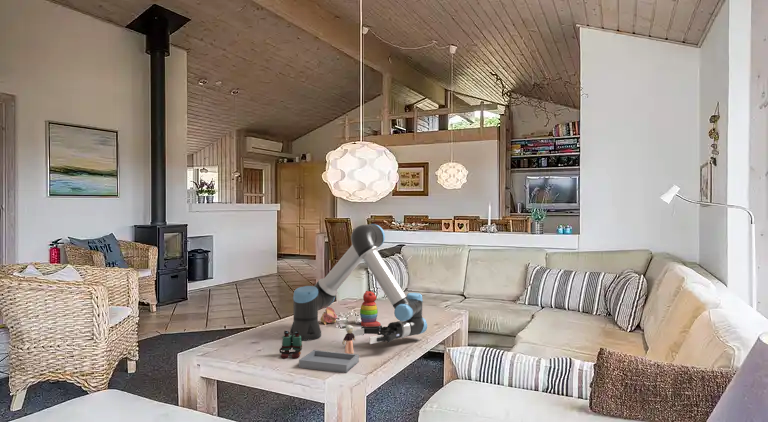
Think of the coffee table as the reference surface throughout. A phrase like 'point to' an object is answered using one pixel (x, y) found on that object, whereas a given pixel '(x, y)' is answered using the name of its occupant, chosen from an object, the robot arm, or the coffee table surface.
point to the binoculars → (291, 345)
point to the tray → (329, 361)
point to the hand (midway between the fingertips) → (360, 337)
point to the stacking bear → (369, 310)
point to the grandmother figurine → (349, 340)
